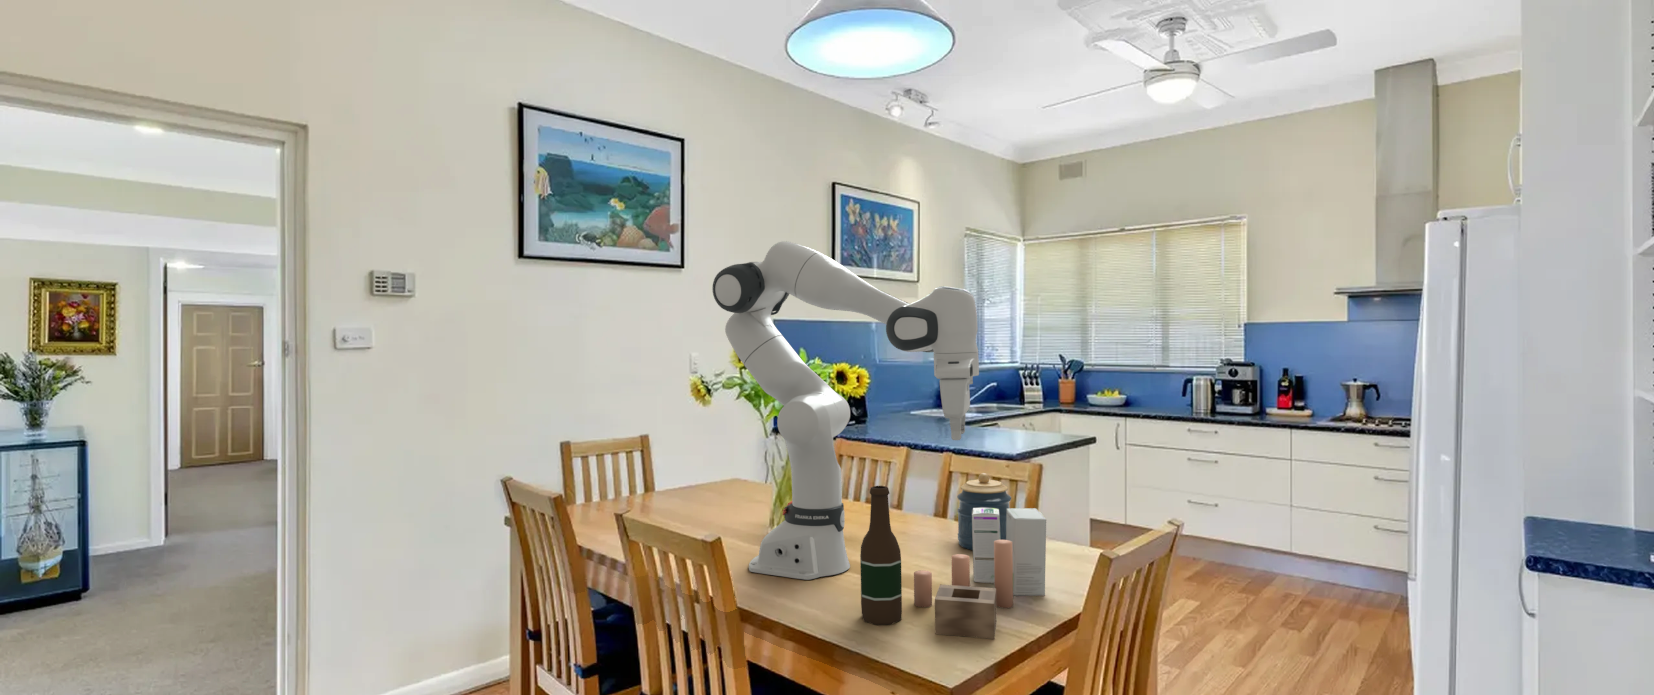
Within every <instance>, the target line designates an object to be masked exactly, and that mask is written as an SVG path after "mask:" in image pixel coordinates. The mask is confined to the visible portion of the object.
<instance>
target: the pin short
mask: <svg viewBox="0 0 1654 695" xmlns="http://www.w3.org/2000/svg"><path fill="white" fill-rule="evenodd" d="M932 577H933V574H932V572H931V571H929V570H924V569H923V570H922V569H921V570H916V571H915V570H914V572H913V602H914V603H913V604H914V606H915V607H919V608H929V607H932V606H933V578H932Z"/></svg>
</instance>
